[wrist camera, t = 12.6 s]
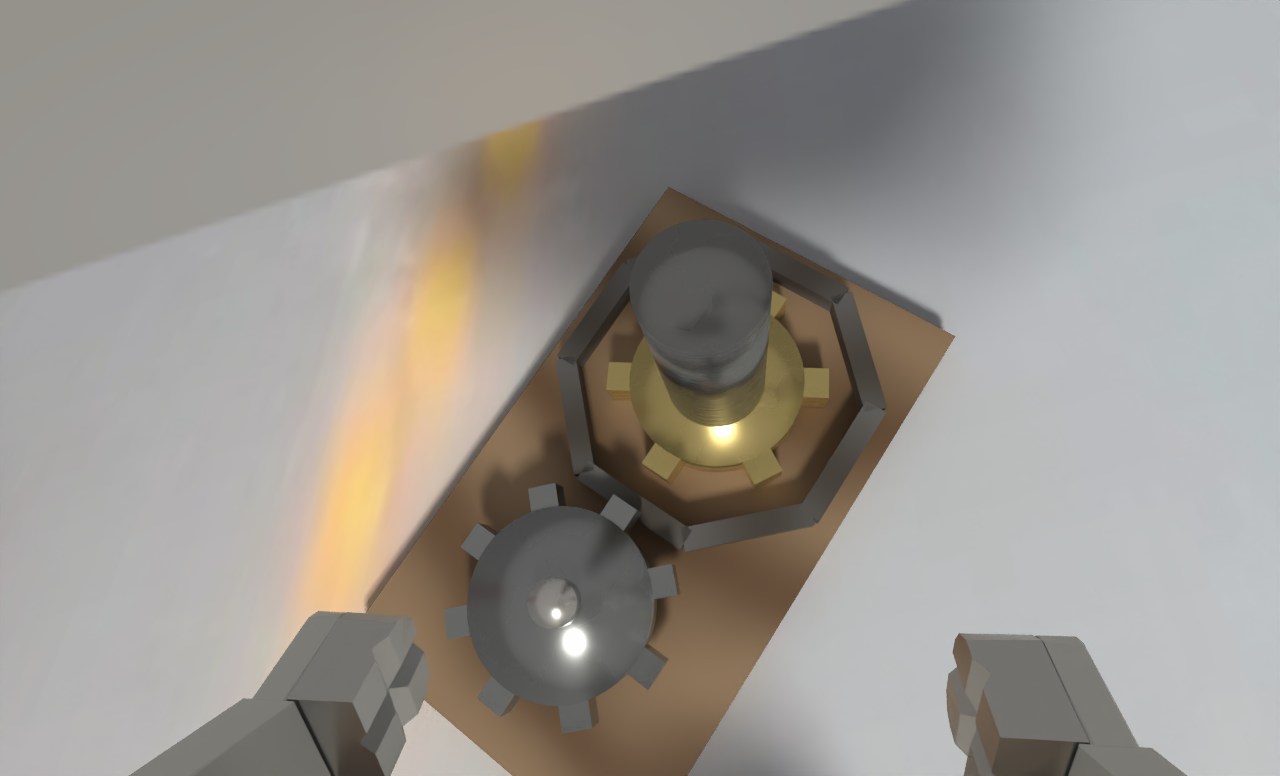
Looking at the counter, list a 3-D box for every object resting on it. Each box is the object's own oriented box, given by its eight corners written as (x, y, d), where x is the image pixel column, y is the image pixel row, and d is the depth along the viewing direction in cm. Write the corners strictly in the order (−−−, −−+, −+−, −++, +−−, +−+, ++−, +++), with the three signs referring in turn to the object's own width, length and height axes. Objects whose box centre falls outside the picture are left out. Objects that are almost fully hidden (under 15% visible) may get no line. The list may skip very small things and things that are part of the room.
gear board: (671, 201, 31) (665, 174, 29) (946, 346, 27) (963, 326, 25) (365, 633, 28) (334, 637, 26) (633, 860, 24) (621, 886, 22)
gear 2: (692, 262, 29) (665, 101, 19) (859, 354, 27) (920, 224, 17) (579, 424, 28) (490, 339, 18) (744, 533, 26) (741, 502, 16)
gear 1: (552, 452, 27) (527, 435, 24) (726, 570, 25) (722, 568, 22) (429, 629, 26) (387, 635, 23) (600, 770, 24) (579, 796, 21)
